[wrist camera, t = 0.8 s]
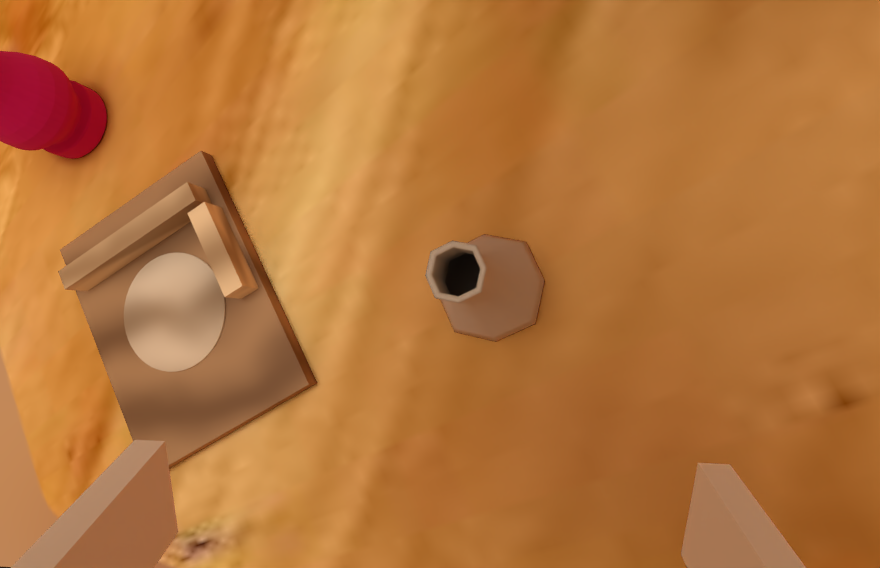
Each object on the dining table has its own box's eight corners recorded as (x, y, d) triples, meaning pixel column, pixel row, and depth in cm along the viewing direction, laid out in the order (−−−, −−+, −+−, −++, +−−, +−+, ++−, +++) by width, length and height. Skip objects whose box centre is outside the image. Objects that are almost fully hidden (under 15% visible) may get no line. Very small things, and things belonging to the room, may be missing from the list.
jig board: (72, 251, 48) (37, 246, 45) (211, 155, 45) (182, 142, 42) (159, 473, 44) (126, 484, 41) (316, 383, 41) (294, 386, 38)
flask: (551, 336, 37) (535, 336, 28) (443, 346, 39) (394, 350, 29) (538, 227, 38) (518, 190, 28) (434, 242, 40) (382, 212, 30)
